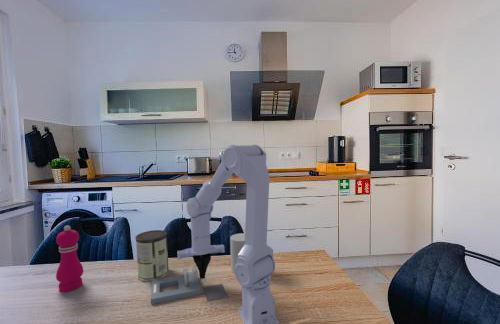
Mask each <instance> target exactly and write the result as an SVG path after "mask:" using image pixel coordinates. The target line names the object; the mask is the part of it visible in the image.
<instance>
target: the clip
mask: <svg viewBox="0 0 500 324" xmlns="http://www.w3.org/2000/svg"><path fill="white" fill-rule="evenodd" d="M191 269H192V271H189V270H188V268H183V275H184V285H185V286H190V285H195V284H198V279H199V271H198V268H197V266H195V267H192V268H191Z"/></svg>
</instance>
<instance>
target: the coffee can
mask: <svg viewBox="0 0 500 324" xmlns="http://www.w3.org/2000/svg"><path fill="white" fill-rule="evenodd" d="M134 238H135V244H136V245H135V246H136V249H135V250H136V263H137V266H136V267H137V279H138V280H139V281H141V282H147V281H153V280H158V279H162V278H163V277H165V276H166V275H168V274H169V271H170V270H169V256H168V255H169V254H168V251H169V250H168V231H165V230H162V229H161V230H159V229H157V230H153V229H152V230H148V231H143V232H140V233H139V234H137V235H136V236H135V237H134Z"/></svg>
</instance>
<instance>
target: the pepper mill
mask: <svg viewBox="0 0 500 324" xmlns="http://www.w3.org/2000/svg"><path fill="white" fill-rule="evenodd" d="M79 240H80V234H79V233H78V231H77V230H75V229H71V226H70V225H64V227H63V231H61V232H59V233H58V234H57V236H56V240H55V241H56V244H57V245H58V246H59V247H58V252H59V253H60V262H59V265H58V267H57V269H56V274H55V279H56V281H58V282H59V283H58V291H60V292H71V291H74V290H77V289H78V288H80V287H81V286H82V285H83V278H82V275H83V274H84V267H83V265H82V264H83V263H81V261H80V259H79V257H78V253H77V250H78V249H79V248H78V247H79V244H78V241H79Z"/></svg>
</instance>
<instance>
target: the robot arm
mask: <svg viewBox="0 0 500 324" xmlns="http://www.w3.org/2000/svg"><path fill="white" fill-rule="evenodd" d="M220 160H221V161H220V164H219V166H218V167H217V169H216V171H215V173H214V174H213V176H212V178H211V179H210V180H206V181H204V182H203V183H202V186H201V188H200V189H199V191H198V192H197V193H196V195H195V196H194V197H191V198H188V199H187V202H186V212H187V214H188V215H189V217H190V228H191V229H190V230H191V247H190V248H184V249H182V250H177V253H176V254H177V260H181V259H186V258H192V259H193V262H194V263H195V267H196V268H197V271H198V275H199V279H200V280H203V279H205V278H206V273H207V269H208V267H209V266H208V265H209V264H210V262H211V259H212V256H211V254H218V253H221V254H222V253H225V252H226V251H225V248H226V247H225V245H224V244H211V229H210V228H211V226H210V225H211V223H210V220H211V218H212V212H213V210H214V203H215V202H216V201H217V199H219V197H220V195H222V190H223V189H222V187H223V186H224V184H226V182H227V181H228V180H229V179H230V177H232V175H233V174H235V176H237V177H238V178H240V179H241V180H243V181H244V182H245V184H246V197H245V198H246V199H245V200H246V201H245V202H246V203H245V227H244V233H245V245H244V246H243V248H242V249H241V251H240V252H239V254H238V260H237V263H236V265H235V274H234V275H235V278H236V280H237V283H239V285H241V302H242V305H241V306H239V307H237V311H238V313H239V315H240V318H241V319H242V321H243V323H244V324H280V321H279V320H278V318H277V317H276V300H275V297H274V295H273V293H272V291H271V281H270V280H272V274H273V273H274V272H275V270H276V261H275V259H274V249H273V248H272V247H271V246H270V245H268V244H267V243H268V242H267V240H268V239H267V238H268V219H269V218H268V217H269V197H270V195H269V193H270V173H269V170H268V167H267V152H265V150H263V148H262V147H261V146H260V145H258V144H252V145H249V144H248V145H245V144H244V145H243V144H242V145H236V144H230V145H227V146H226V147H225V149H224V150H223V153H221V155H220Z"/></svg>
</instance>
